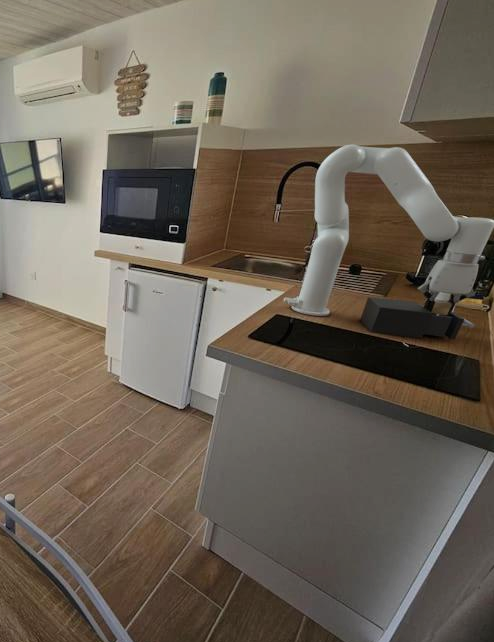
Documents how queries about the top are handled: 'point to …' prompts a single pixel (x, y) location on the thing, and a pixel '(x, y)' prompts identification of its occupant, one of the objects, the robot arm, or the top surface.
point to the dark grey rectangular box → (395, 317)
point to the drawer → (446, 325)
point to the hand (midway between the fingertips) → (436, 311)
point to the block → (441, 307)
